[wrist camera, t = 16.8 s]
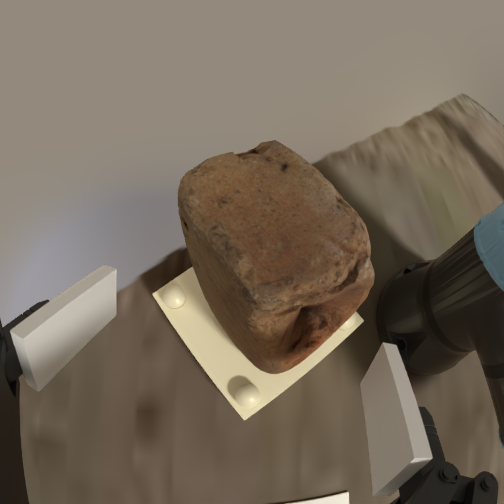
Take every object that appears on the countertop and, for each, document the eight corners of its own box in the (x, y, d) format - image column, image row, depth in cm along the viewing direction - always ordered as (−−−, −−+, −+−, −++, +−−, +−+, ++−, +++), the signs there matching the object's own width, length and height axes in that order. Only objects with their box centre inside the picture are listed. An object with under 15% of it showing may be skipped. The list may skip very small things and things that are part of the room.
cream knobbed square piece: (267, 234, 40) (270, 210, 35) (349, 329, 35) (367, 318, 30) (163, 306, 36) (149, 291, 30) (243, 415, 31) (244, 421, 25)
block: (200, 296, 31) (150, 169, 13) (260, 260, 33) (282, 110, 15) (259, 385, 28) (293, 386, 10) (321, 343, 30) (431, 271, 11)
